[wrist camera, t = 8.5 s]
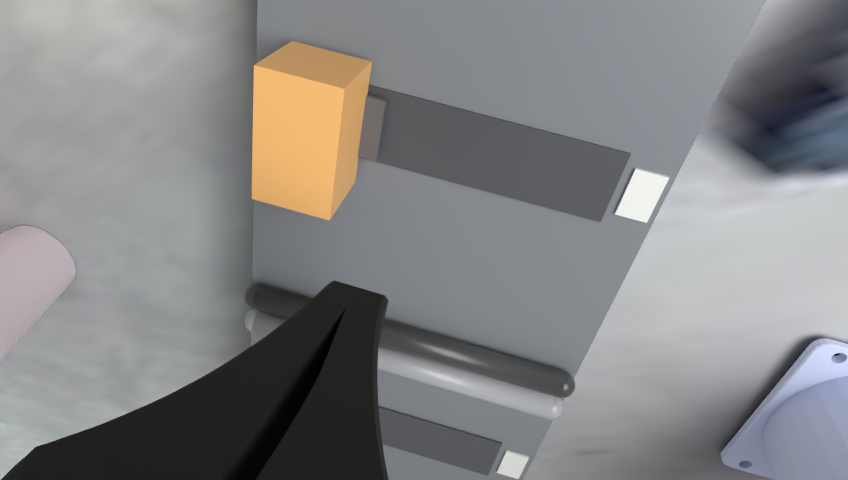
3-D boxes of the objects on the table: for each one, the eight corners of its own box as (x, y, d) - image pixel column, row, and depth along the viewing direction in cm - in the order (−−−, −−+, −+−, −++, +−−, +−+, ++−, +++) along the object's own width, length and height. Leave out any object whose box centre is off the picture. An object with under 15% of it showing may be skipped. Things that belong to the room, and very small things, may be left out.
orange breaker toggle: (392, 66, 16) (367, 94, 14) (373, 185, 18) (349, 226, 16) (273, 35, 16) (231, 59, 14) (269, 157, 19) (232, 193, 17)
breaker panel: (738, -27, 16) (784, -1, 13) (508, 462, 30) (502, 536, 26) (303, -132, 17) (241, -132, 14) (273, 392, 30) (239, 455, 27)
